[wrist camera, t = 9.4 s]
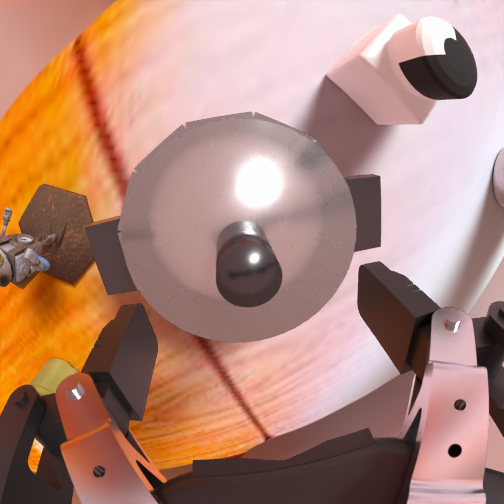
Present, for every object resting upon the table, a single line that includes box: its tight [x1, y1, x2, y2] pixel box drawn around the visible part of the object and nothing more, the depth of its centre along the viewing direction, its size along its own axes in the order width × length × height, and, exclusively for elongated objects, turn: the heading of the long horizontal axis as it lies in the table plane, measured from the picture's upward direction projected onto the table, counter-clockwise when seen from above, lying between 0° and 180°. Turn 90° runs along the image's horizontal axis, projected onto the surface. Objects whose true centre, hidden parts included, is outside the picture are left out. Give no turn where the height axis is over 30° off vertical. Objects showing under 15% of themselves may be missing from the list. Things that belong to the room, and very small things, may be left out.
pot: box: [85, 112, 381, 295], centre depth 20 cm, size 19×14×9 cm
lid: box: [122, 119, 357, 342], centre depth 14 cm, size 14×14×5 cm
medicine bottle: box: [327, 14, 477, 125], centre depth 16 cm, size 7×7×12 cm
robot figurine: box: [0, 184, 94, 289], centre depth 18 cm, size 11×9×12 cm
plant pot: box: [29, 358, 79, 396], centre depth 26 cm, size 9×9×9 cm
